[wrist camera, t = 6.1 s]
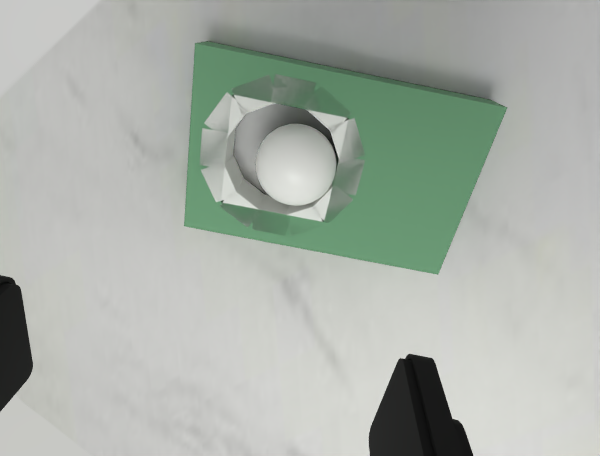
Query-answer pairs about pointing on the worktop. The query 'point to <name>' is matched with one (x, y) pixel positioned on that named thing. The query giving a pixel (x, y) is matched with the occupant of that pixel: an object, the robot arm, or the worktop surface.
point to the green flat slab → (339, 158)
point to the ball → (295, 164)
